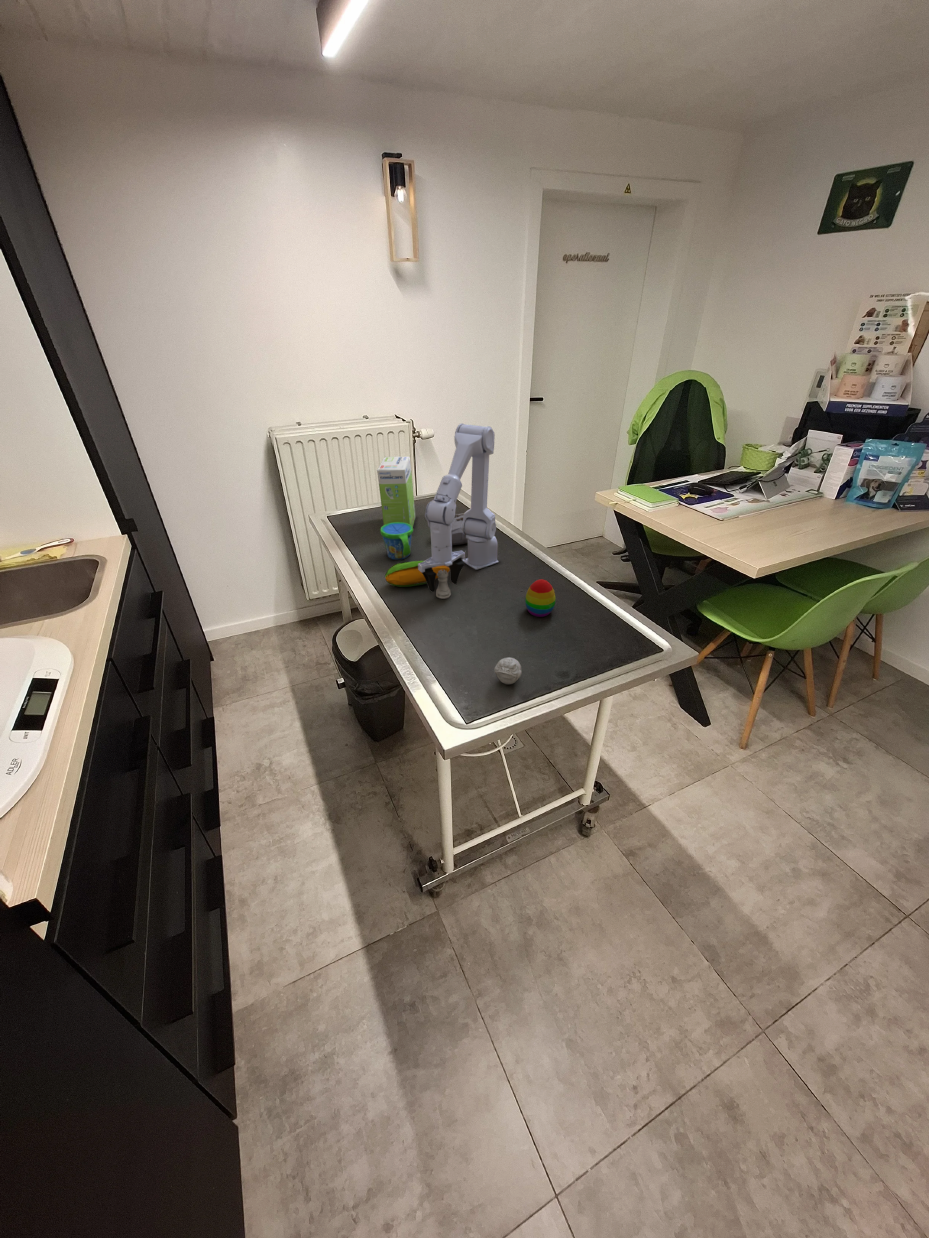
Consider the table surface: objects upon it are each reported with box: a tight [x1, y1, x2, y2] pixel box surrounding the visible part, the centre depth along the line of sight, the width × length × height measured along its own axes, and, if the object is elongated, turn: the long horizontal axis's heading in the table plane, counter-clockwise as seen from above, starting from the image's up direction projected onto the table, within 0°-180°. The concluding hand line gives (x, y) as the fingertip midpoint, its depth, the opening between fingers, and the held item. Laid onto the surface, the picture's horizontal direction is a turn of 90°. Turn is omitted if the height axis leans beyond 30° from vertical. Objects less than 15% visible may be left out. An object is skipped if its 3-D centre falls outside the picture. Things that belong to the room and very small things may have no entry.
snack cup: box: [379, 522, 414, 561], centre depth 162 cm, size 16×10×10 cm
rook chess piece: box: [435, 570, 452, 600], centre depth 141 cm, size 4×4×8 cm
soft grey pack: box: [451, 512, 468, 546], centre depth 176 cm, size 15×8×20 cm
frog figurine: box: [494, 657, 522, 685], centre depth 109 cm, size 6×7×7 cm
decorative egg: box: [524, 578, 556, 618], centre depth 132 cm, size 8×8×10 cm
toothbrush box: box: [376, 456, 417, 529], centre depth 180 cm, size 18×10×24 cm, turn 179°
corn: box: [384, 560, 450, 588], centre depth 147 cm, size 7×8×20 cm
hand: (443, 586), depth 141 cm, fingers open, 7 cm apart
